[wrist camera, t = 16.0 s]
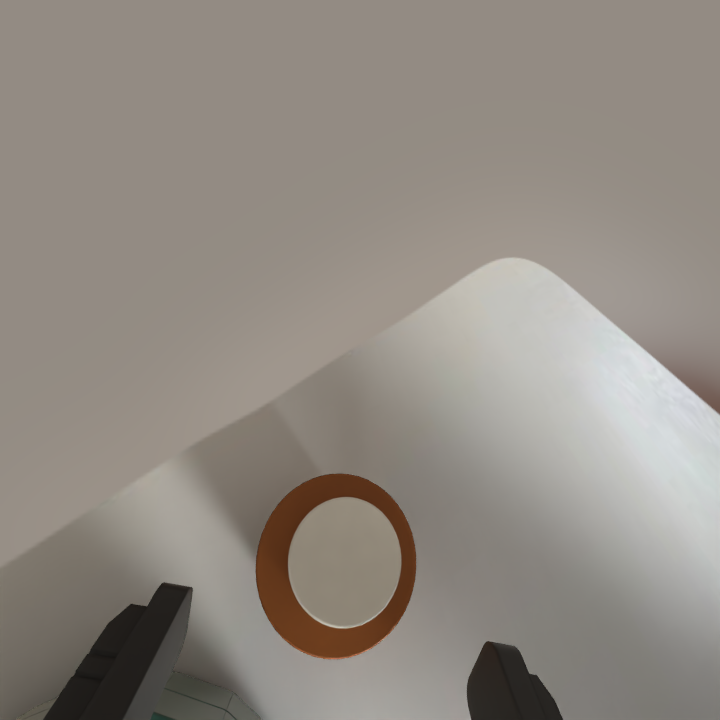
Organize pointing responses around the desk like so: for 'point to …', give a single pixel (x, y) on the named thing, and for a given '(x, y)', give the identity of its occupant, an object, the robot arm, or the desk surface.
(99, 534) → the desk surface
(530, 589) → the desk surface
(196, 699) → the bowl
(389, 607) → the bottle
